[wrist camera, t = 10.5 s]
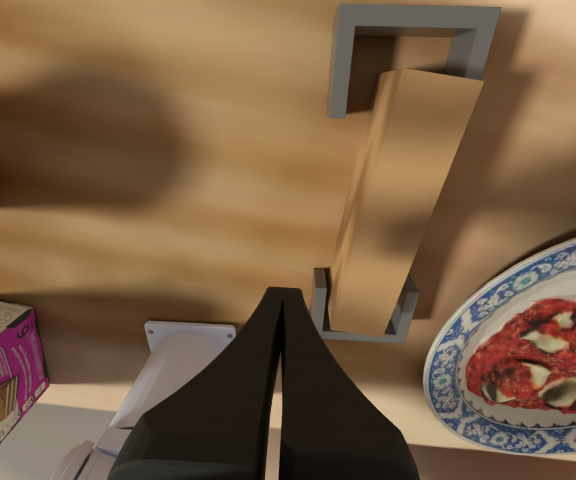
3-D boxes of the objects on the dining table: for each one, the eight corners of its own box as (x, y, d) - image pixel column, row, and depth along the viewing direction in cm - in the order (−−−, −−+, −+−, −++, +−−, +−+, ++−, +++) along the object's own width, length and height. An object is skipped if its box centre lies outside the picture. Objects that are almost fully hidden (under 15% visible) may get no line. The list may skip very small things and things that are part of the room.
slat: (367, 290, 24) (382, 337, 19) (325, 284, 24) (330, 329, 19) (436, 83, 17) (484, 81, 12) (377, 74, 17) (403, 67, 12)
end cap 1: (447, 118, 17) (468, 122, 15) (326, 114, 18) (329, 117, 15) (472, 19, 15) (501, 7, 13) (334, 16, 15) (339, 3, 13)
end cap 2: (395, 320, 25) (404, 343, 22) (310, 316, 25) (310, 338, 23) (407, 272, 22) (419, 292, 20) (314, 268, 23) (315, 287, 20)
